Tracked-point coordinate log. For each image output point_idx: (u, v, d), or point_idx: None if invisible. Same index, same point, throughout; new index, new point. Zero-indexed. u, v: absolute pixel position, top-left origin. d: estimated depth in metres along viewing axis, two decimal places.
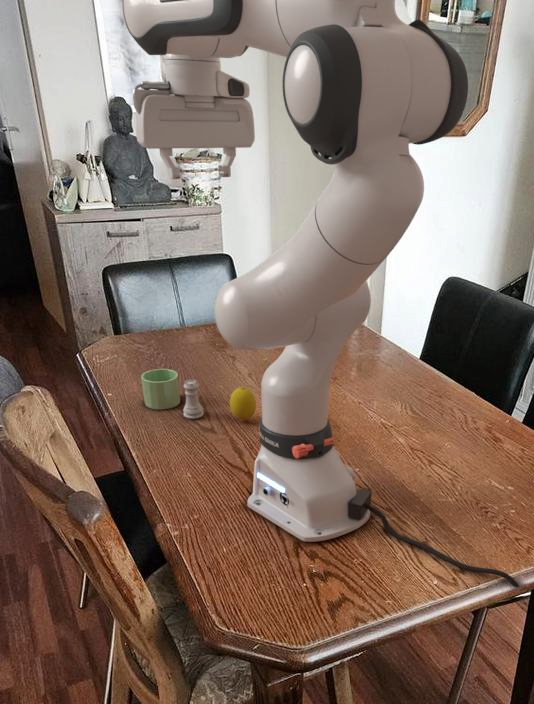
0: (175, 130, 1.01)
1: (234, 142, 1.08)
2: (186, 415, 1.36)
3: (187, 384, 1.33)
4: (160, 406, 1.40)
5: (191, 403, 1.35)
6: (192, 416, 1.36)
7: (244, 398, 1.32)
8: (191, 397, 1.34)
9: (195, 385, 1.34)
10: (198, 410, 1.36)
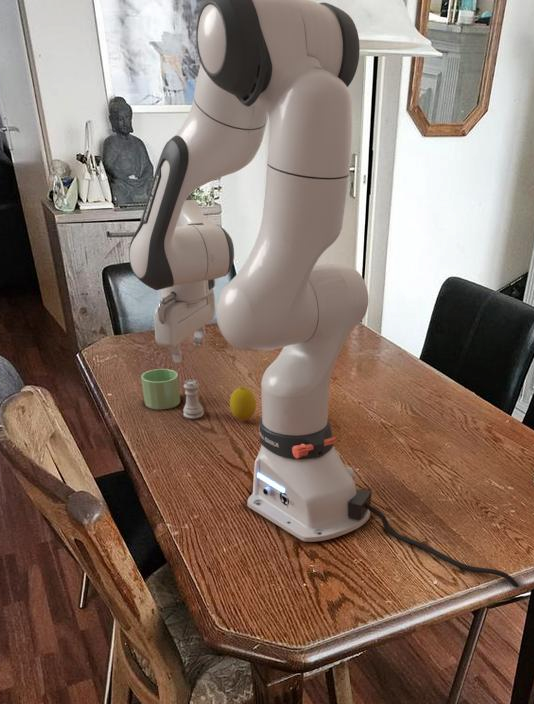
0: (183, 327, 1.23)
1: (207, 320, 1.33)
2: (186, 415, 1.36)
3: (187, 384, 1.33)
4: (160, 406, 1.40)
5: (191, 403, 1.35)
6: (192, 416, 1.36)
7: (244, 398, 1.32)
8: (191, 397, 1.34)
9: (195, 385, 1.34)
10: (198, 410, 1.36)
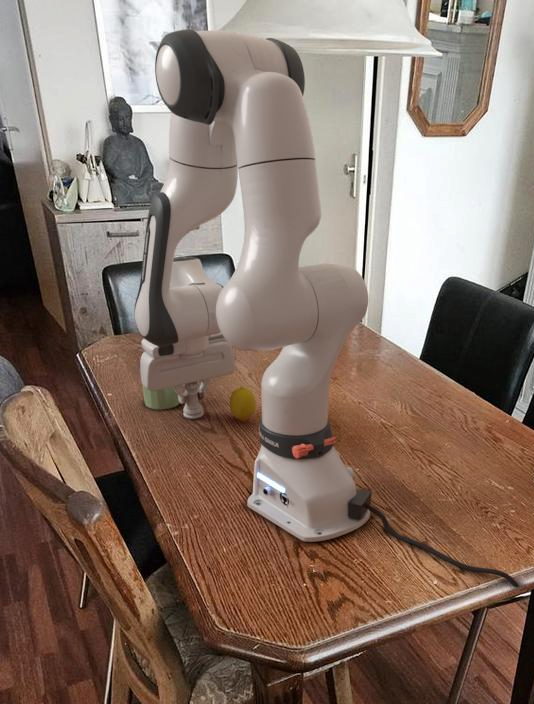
0: None
1: None
2: (186, 415, 1.36)
3: (187, 384, 1.33)
4: (160, 406, 1.40)
5: (191, 403, 1.35)
6: (192, 416, 1.36)
7: (244, 398, 1.32)
8: (191, 397, 1.34)
9: (195, 385, 1.34)
10: (198, 410, 1.36)
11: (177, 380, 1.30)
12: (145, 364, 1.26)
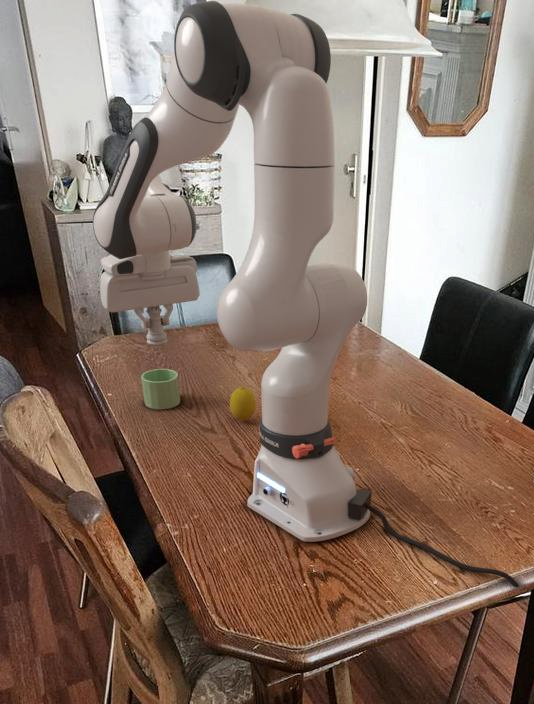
0: None
1: None
2: (149, 342, 1.34)
3: (149, 308, 1.31)
4: (160, 406, 1.40)
5: (154, 328, 1.33)
6: (155, 342, 1.34)
7: (244, 398, 1.32)
8: (154, 322, 1.32)
9: (158, 309, 1.31)
10: (161, 336, 1.34)
11: (138, 302, 1.28)
12: (104, 283, 1.23)
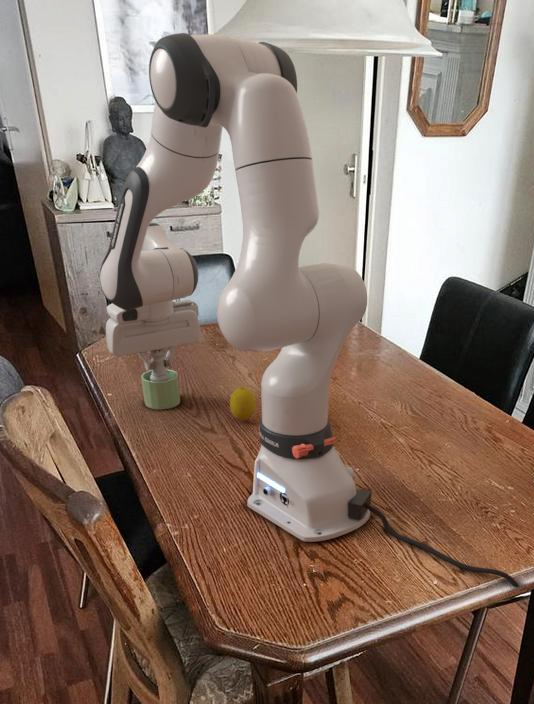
0: None
1: None
2: None
3: (153, 351, 1.36)
4: (160, 406, 1.40)
5: (157, 370, 1.38)
6: None
7: (244, 398, 1.32)
8: (157, 364, 1.37)
9: (161, 352, 1.36)
10: (164, 377, 1.39)
11: (142, 346, 1.33)
12: (110, 330, 1.28)
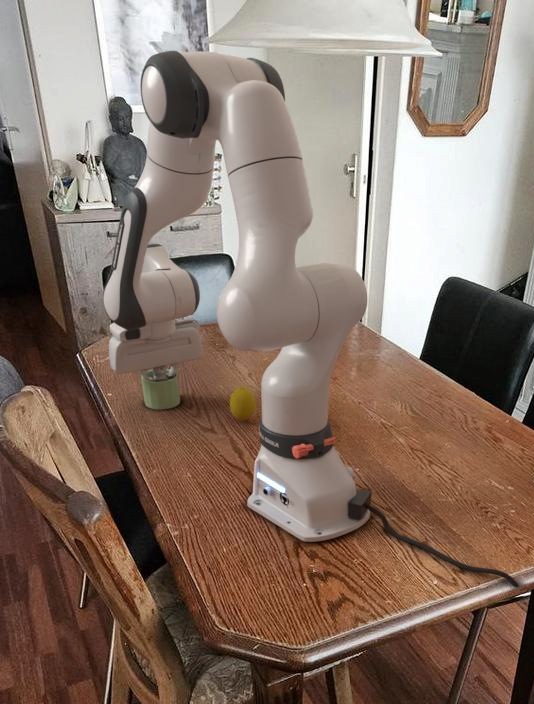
0: None
1: None
2: None
3: (155, 369, 1.38)
4: (160, 406, 1.40)
5: None
6: None
7: (244, 398, 1.32)
8: (159, 381, 1.40)
9: (163, 370, 1.39)
10: None
11: (145, 364, 1.35)
12: (113, 348, 1.30)
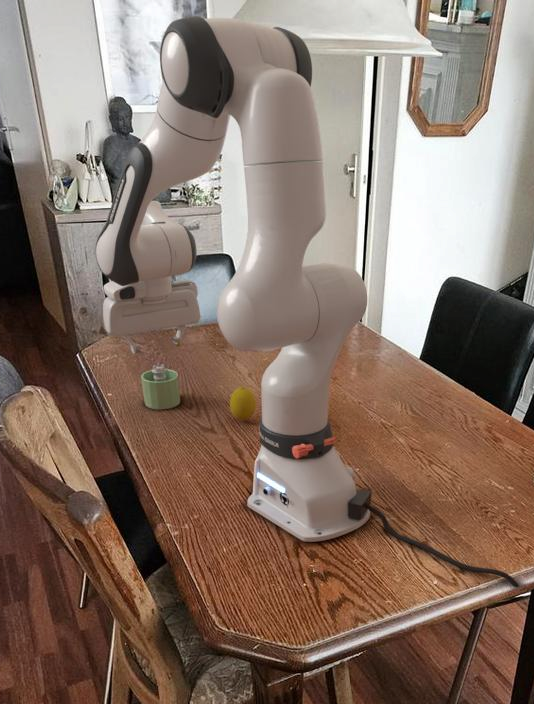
0: None
1: None
2: None
3: (155, 369, 1.38)
4: (160, 406, 1.40)
5: None
6: None
7: (244, 398, 1.32)
8: (159, 381, 1.40)
9: (163, 370, 1.39)
10: None
11: (140, 326, 1.30)
12: (107, 309, 1.26)
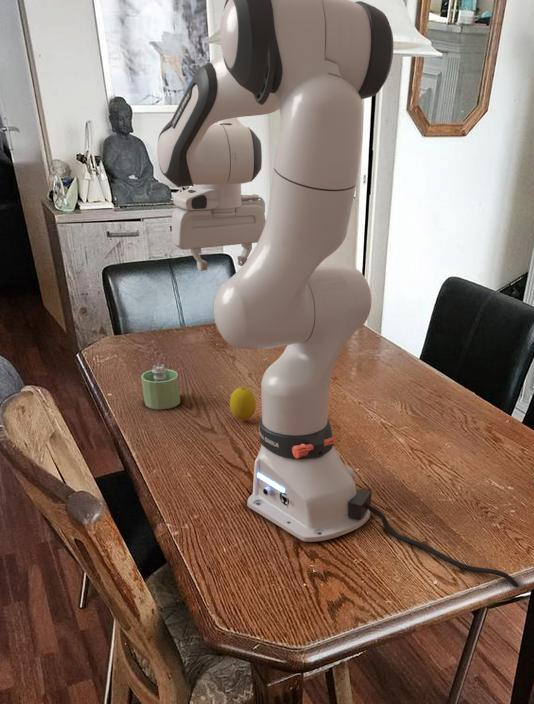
0: None
1: None
2: None
3: (155, 369, 1.38)
4: (160, 406, 1.40)
5: None
6: None
7: (244, 398, 1.32)
8: (159, 381, 1.40)
9: (163, 370, 1.39)
10: None
11: (209, 240, 1.27)
12: (177, 219, 1.22)
